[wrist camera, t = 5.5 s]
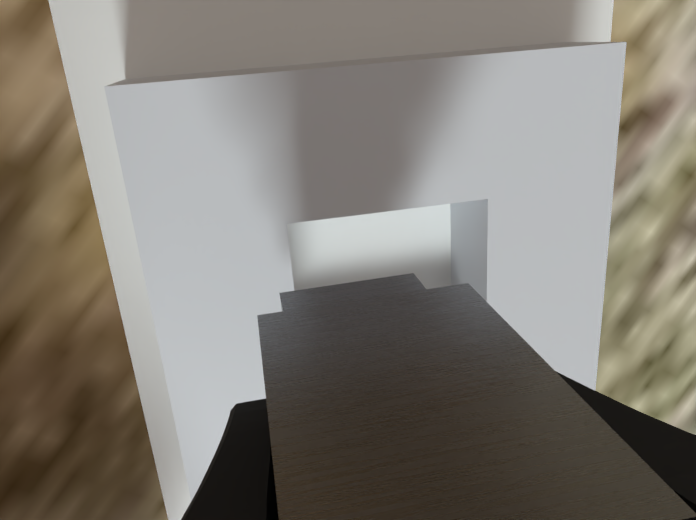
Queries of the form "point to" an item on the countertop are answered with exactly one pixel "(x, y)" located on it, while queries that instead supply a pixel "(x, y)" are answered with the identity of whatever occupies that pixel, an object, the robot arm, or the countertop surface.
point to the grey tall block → (434, 415)
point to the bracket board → (257, 41)
